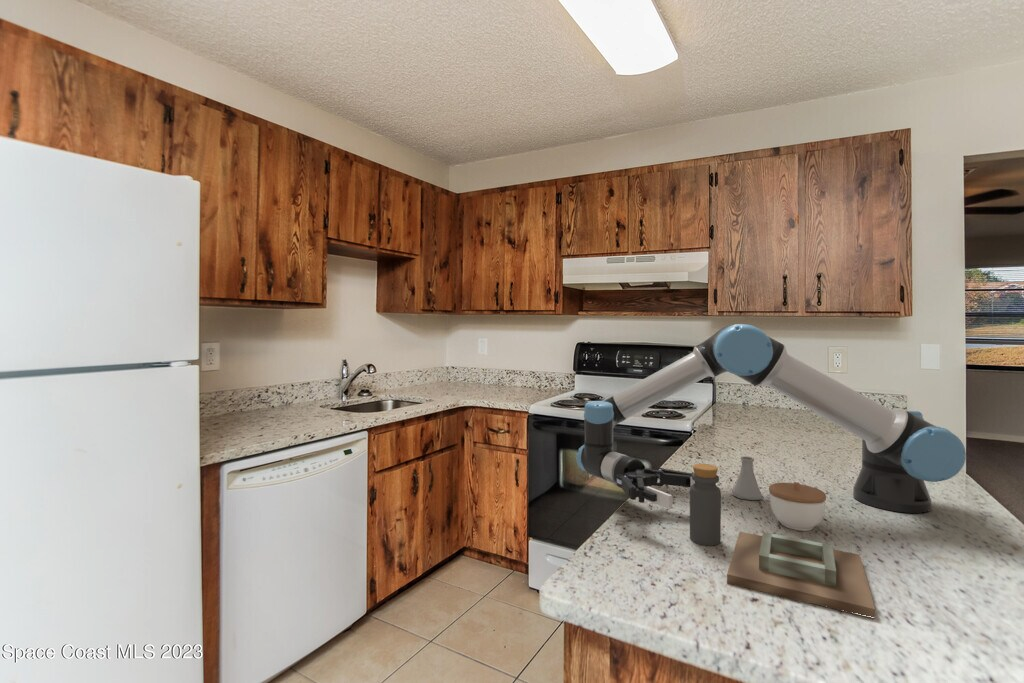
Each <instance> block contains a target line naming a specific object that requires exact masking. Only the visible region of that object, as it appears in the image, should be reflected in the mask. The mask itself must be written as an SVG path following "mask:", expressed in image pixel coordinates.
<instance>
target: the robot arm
mask: <svg viewBox="0 0 1024 683" xmlns="http://www.w3.org/2000/svg"><path fill="white" fill-rule="evenodd" d="M692 350H693V351H692V352H690V353H689V354H687V355H685V356H683V357H681V358H680V359H677V360H676V361H674V362H672V363H670V364H669V365H667V366H665V367H663V368H662V369H659V370H658V371H656V372H654V373H652V374H650V375H648V376H647V377H645V378H643V379H641V380H640V381H638V382H636V383H634V384H632V385H630V386H628V387H626V388H625V389H623V390H622V391H619V392H617V393H615V394H614V395H612V396H611V397H609V398H608V397H607V399H605V400H594V401H593V400H592V401H588V402H586V403H585V404H584V413H583V419H584V421H583V422H584V428H583V429H584V440H583V441H584V443H583V445H582V446H580V447H579V448H578V452H577V453H576V455H575V456H576V458H575V459H576V463H577V464H576V465H577V466H578V467H579V469H580V470H582V471H584V472H586V473H588V474H589V476H590V475H592V476H595V477H597V478H600V479H603V480H605V481H608V482H610V483H613V484H614V486H616V487H618V488H620V489H622V490H623V492H624V493H625V495H627V497H628V498H629V499H630V500H633V501H635V500H637V498H638V503H640V504H641V503H642V504H644V503H645V500H646V501H649V503H653V504H655V505H657V506H660V507H662V508H665V509H668V510H672V509H673V495H672V494H669V493H667V492H664V491H662V490H660V489H656V488H655V487H663V486H665V485H666V486H673V487H683V488H690V486H691V485H692V484H695V481H694V480H693V479H692V474H693V473H694V471H693V472H686V471H680V470H673V469H667V468H663V467H660V466H657V467H655V469H652V468H649V467H646V466H645V464H644V463H643V462H642V461H641V460H640V459H638V458H635V457H632V456H629V455H627V454H623V453H620V452H616V451H614V427H615V426H616V425H618V424H621V423H623V422H624V421H626V420H628V419H629V418H631V417H633V416H635V415H637V414H639V413H640V412H642V411H644V410H646V409H648V408H650V407H651V406H654V405H656V404H658V403H659V402H662V401H663V400H665V399H667V398H669V397H672V396H674V395H675V394H677V393H679V392H681V391H683V390H685V389H686V388H689V387H690V386H692V385H694V384H696V383H698V382H699V381H702V380H704V379H705V378H708V377H711V378H715V377H717V376H720V375H721V374H724V373H727V372H728V373H730V374H733V375H735V376H737V377H739V378H740V379H742V380H744V381H746V382H747V383H749V384H751V385H753V386H755V387H761V386H768V387H769V388H770V389H773V390H775V391H776V392H778V393H780V394H781V395H784V396H785V397H786V398H788V399H790V400H792V401H794V402H796V403H798V404H800V405H801V406H804V407H805V408H806V409H809V411H810V410H811V411H812V412H814V413H816V414H817V415H819V416H821V417H822V418H824V419H826V420H827V421H829V422H831V423H833V424H835V425H836V426H838V427H839V428H842V429H843V430H845V431H848V433H851V434H853V435H855V436H856V437H858V438H859V439H861V441H862V442H861V445H862V446H861V455H862V456H861V460H862V461H861V469H860V471H859V473H858V476H857V478H856V480H855V483H854V485H853V489H852V490H853V493H852V494H853V495H852V496H853V498H854V499H855V500H857V501H858V502H861V503H863V504H865V505H868V506H870V507H874V508H877V509H882V510H886V511H891V512H897V513H905V514H907V513H908V514H923V513H922V512H925V513H928V512H927V511H929V512H931V511H932V498H931V496H930V493H929V490H928V488H927V486H926V485H927V484H926V483H925V482H929V483H930V482H931V483H938V482H943V481H947V480H950V479H952V478H954V477H955V476H956V475H958V474H959V472H960V471H962V469H963V467H964V466H965V463H966V458H967V453H966V448H965V446H964V443H963V441H962V440H961V439H960V438H959V437H958V436H957V435H956V434H954V433H953V432H952V431H950V430H949V429H947V428H944V427H941V426H936V425H934V424H932V423H930V422H928V421H926V420H925V419H924V418H923V416H924V415H923V414H922V412H920V411H918V410H907V409H904V408H901V407H899V408H892V409H889V408H887V407H886V406H884V405H882V404H880V403H878V402H877V401H876V400H875V401H874V400H873V399H871V398H869V397H867V396H865V395H863V394H861V393H860V392H858V391H856V390H855V389H853V388H851V387H849V386H847V385H846V384H843V383H841V382H840V381H838V380H836V379H834V378H832V377H830V376H828V375H826V374H825V373H823V372H821V371H819V370H817V369H816V368H813V367H811V366H810V365H807V364H806V363H804V362H803V361H800V360H799V359H797V358H795V357H794V356H791V355H790V354H788V350H787V348H786V345H785V344H783V343H781V342H779V341H778V340H776V339H774V338H772V337H770V336H768V334H766V333H765V332H764V331H763V330H762V329H760V328H759V327H756V326H754V325H751V324H745V323H738V324H733V325H728V326H725V327H723V328H720V329H719V330H718V331H716V332H715V333H714V334H712V335H711V336H710V337H708V338H706V339H705V340H704V341H703V342H701V343H699V344H697V345H696V346H694V347H693V349H692ZM658 480H659V481H658ZM652 486H655V487H652ZM716 486H717V487H718V483H716Z"/></svg>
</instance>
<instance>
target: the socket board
mask: <svg viewBox="0 0 1024 683" xmlns="http://www.w3.org/2000/svg"><path fill="white" fill-rule="evenodd" d="M736 539H737V540H736V542H735V545H734V549H733V552H732V556H731V560H730V562H729V567H728V570H727V572H726V573H727V574H726V584H730V585H733V586H734V585H735V586H739V587H742V588H746V587H747V589H751V590H755V591H759V592H764V593H766V594H770V595H773V596H774V595H775V596H779V597H782V596H783V598H786V599H791V600H795V601H799V602H804V603H807V602H808V603H807V604H811V603H814V604H813V605H815V604H818V605H817V606H819V605H822V606H821V607H823V606H827V607H830V608H829V609H831V608H834V609H833V610H835V609H838V610H837V611H839V610H844V611H847V612H846V613H848V612H853V613H858V614H861V615H866V616H871V617H875V618H876V608H875V604H874V600H873V597H872V593H871V590H870V587H869V583H868V579H867V575H866V571H865V567H864V564H863V561H862V557H861V555H860V554H858V553H854V552H849V551H848V552H847V551H842V550H836V549H834V548H833V544H830V543H829V544H828V543H825V542H824V543H823V542H817V541H813V540H808V539H801V538H797V537H791V536H787V535H786V536H785V535H780V534H775V533H770V532H766V531H765V532H764V531H763V532H762V535H759V534H755V533H750V532H744V531H739V532H738V534H737V538H736ZM827 607H826V608H827Z"/></svg>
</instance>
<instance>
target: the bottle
mask: <svg viewBox="0 0 1024 683" xmlns="http://www.w3.org/2000/svg"><path fill="white" fill-rule="evenodd" d="M692 469H693V474H692V479H693V480H694V481H695V484H692V485H691V486H690V487H689V539H690V540H691V541H692V542H694V543H696V544H698V545H703V546H710V547H712V546H717V545H718V546H719V544H720V543H721V537H722V536H721V534H722V533H721V532H722V531H721V530H722V529H721V527H722V526H721V524H722V523H721V522H722V520H721V518H722V515H721V514H722V503H721V502H722V493H721V492H722V491H721V489H720V488H719V487H718V485H717V486H716V484H718V483H719V482H720V478H719V477H720V476H718V469H719V467H718V466H716V465H714V464H709V463H694V464H693V465H692Z"/></svg>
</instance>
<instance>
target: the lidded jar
mask: <svg viewBox="0 0 1024 683" xmlns="http://www.w3.org/2000/svg"><path fill="white" fill-rule="evenodd" d="M768 492H769V504H770V509H771V511H772V513H773V515H774V517H775V518H776V519H777V520H778V521H779V522H780V525H782V526H783V527H785V528H788V529H791V530H795V531H800V532H807V531H812V530H813V528H815V527H816V526H817V525H819V524H820V523H821V521H822V520H823V518H824V515H825V512H826V511H825V510H826V500H827V495H826V493H825V492H824V491H822V490H821V489H819V488H817V487H813V486H811V485H810V486H809V485H806V484H802V483H800V482H799V481H798V482H797V481H794V482H776V483H771V484H770V485H769V486H768Z"/></svg>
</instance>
